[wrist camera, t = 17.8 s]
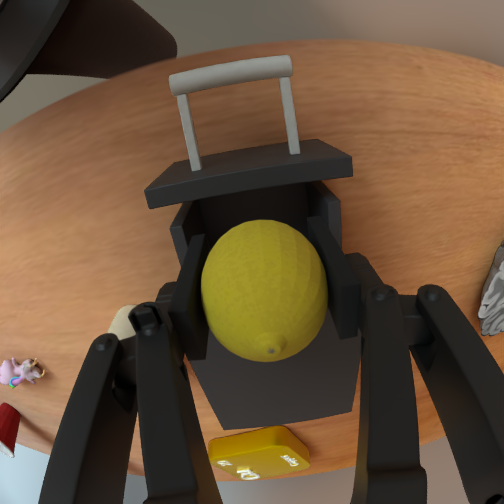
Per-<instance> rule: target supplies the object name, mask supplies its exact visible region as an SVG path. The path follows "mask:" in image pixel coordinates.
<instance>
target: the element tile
mask: <svg viewBox="0 0 504 504" xmlns="http://www.w3.org/2000/svg"><path fill="white" fill-rule="evenodd" d="M208 457H209V461H210V464H212V465H214V466H216V467H218V468H220V469H222V470H223V471H225V472H227V473H229V474H231V475H233V476H235V477H237V478H239V479H242V480H254V479H260V478H266V477H271V476H276V475H281V474H286V473H291V472H295V471H299V470H303V469H307V468H309V466H310V458H309V452H308V448H307V447H306V446H305V445H304V444H303V443H302V442H301V441H300V440H299V439H298V438H297V437H295V436H294V435H293V434H292V433H291V432H290V431H289V430H288V429H287V428H286V427H283V426H270V427H266V428H262V429H258V430H254V431H250V432H246V433H242V434H237V435H232V436H227V437H222V438H217V439H213V440H211V441H210V442H209V443H208Z"/></svg>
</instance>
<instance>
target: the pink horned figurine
mask: <svg viewBox="0 0 504 504" xmlns="http://www.w3.org/2000/svg"><path fill="white" fill-rule="evenodd" d="M35 359H36V358H35ZM35 359H34V362H33V361H32V360H31V359H27V360H25V361H24V362H23V363H22V365H18V364H17V363H16V362H15V358H14V357H13V358H12V361H11V360H5V361H4V362H3V364H2V366H1V367H0V383H1V384H3V385H9V384H10V387H11V388H14V387H16V386H17V385H18V384H20V383H21V382H23V379H27V380H28V381H29V382H31V383H32V384H35V382H34V381H33V380H34V379H36V378H40V377H42V376H44V375H45V374H46V373H47V372H45V371H46V370H47V369H46V370H45V371H44V369H43V374H42V375H40V374H41V372H40V369H39V368H38V367H35V366H34V365H36V363H39V362H37V361H36V360H37V359H36V360H35Z"/></svg>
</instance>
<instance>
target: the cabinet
mask: <svg viewBox="0 0 504 504" xmlns="http://www.w3.org/2000/svg"><path fill="white" fill-rule="evenodd" d="M361 335H362V334H361V332H360V330H359V327H358V335H357V337H353V338H348V339H343V340H340V339H339V336H338V333H337V330H336V328H335V325H334V322H333V319H332V317H331V314H330V311H329V308H328V306H327V310H326V316H325V319H324V322H323V324H322V326H321V328H320V330H319V332H318V334H317V335H316V337H315V338H314V339H313V340H312V341H311V342H310V343H309V344H308V345H307V346H306V347H305V348H304V349H302V350H301V351H299V352H298V353H297V354H294V355H292V356H290V357H288V358H286V359H282V360H278V361H272V362H259V361H252V360H249V359H245V358H242V357H240V356H238V355H236V354H234V353H232V352H231V351H229V350H228V349H227V348H225V347H224V346H223V345H222V344H221V343H220V342H219V341H218V340H217V339H216V337H215V336H214V334H213V333H212V331H211V330H210V328H209V336H208V344H207V353H206V360H195V361H190V363H191V366H192V368H193V370H194V372H195V374H196V376H197V378H198V380H199V383H200V385H201V387H202V389H203V391H204V393H205V395H206V397H207V399H208V401H209V403H210V405H211V407H212V409H213V411H214V413H215V415H216V416H217V418H218V420H219V422H220V424H221V426H222V428H223V430H232V429H245V428H256V427H266V426H274V425H282V424H289V423H295V422H302V421H308V420H313V419H319V418H324V417H329V416H334V415H339V414H343V413H348V412H351V411H352V406H353V401H354V395H355V389H356V383H357V377H358V370H359V364H360V357H361V355H359V352H360V343H361Z"/></svg>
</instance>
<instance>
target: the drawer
mask: <svg viewBox="0 0 504 504" xmlns="http://www.w3.org/2000/svg"><path fill="white" fill-rule="evenodd" d="M292 74H293V68H292V62H291V58H290V56H289V55H281V56H271V57H262V58H254V59H247V60H241V61H234V62H228V63H223V64H217V65H212V66H207V67H203V68H198V69H194V70H189V71H185V72H181V73H177V74H173V75H170V76H169V86H170V90H171V93H172V94H173V96H177V102H178V107H179V112H180V117H181V122H182V126H183V131H184V136H185V141H186V146H187V150H188V155H189V159H188V160H183V161H178V162H174V163H173V164H172V165H171V166H170V167H168V168H167V169H166V170H165V171H164V172H163V173H162V174H161V175H160V176H159V177H158V178H156V179H155V180H154V181H153V182H152V183H151V184H150V185H149V186H148V187H147V188H146V189H145V190H144V193H145V196H146V200H147V203H148V207H149V209H154V208H158V207H163V206H168V205H173V204H178V203H183V204H182V206H181V208H180V210H179V211H178V213H177V215H176V217H175V219H174V221H173V222H172V224H171V226H170V228H169V229H170V232H171V235H172V239H173V242H174V246H175V249H176V252H177V255H178V259H179V262H180V265H181V267H182V264H183V261H184V258H185V255H186V252H187V249H188V246H189V243H190V241H191V238H192V236H194V235H200V234H206V238H207V242H208V246H209V250H210V251H211V250H212V248H213V247H214V245H215V244H216V243H217V241H218V240H219V239H220V238H221V237H222V236H223V235H224V234H225V233H227V232H228V231H229V230H230V229H232V228H234V227H236V226H238V225H240V224H242V223H244V222H249V221H254V220H274V221H277V222H281V223H284V224H287V225H289V226H290V227H292V228H294V229H295V230H297V231H298V232H300V233H301V234H302V235H303V236H304V237H305V238H306V239H307V240H308V241H309V238H308V226H307V217H314V216H321V218H322V219H323V221H324V222H325V224H326V225H327V227H328V229H329V230H330V232H331V233H332V235H333V237H334V238H335V240H336V241H337V243H338V245H339V246H340V248H341V249H342V236H341V209H340V200H339V199H338V198H337V197H336V196H335V195H334V194H333V193H332V192H331V191H330V190H329V189H328V188H327V187H326V186H325V184H324V183H323V182H322V181H321V180H327V179H335V178H344V177H352V176H353V166H352V157H351V156H350V155H348V154H346V153H344V152H342V151H341V150H339V149H337V148H335V147H333V146H331V145H329V144H327V143H325V142H323V141H321V140H319V139H312V140H303V141H299V138H298V130H297V123H296V116H295V109H294V102H293V96H292V89H291V83H290V78H289V77H291V76H292ZM273 78H279V79H278V80H279V86H280V92H281V98H282V104H283V111H284V117H285V124H286V131H287V138H288V142H287V143H279V144H272V145H265V146H258V147H252V148H246V149H240V150H234V151H228V152H223V153H217V154H212V155H207V156H202V157H200V153H199V148H198V143H197V139H196V134H195V129H194V124H193V119H192V114H191V108H190V103H189V98H188V94H187V93H192V92H196V91H201V90H205V89H210V88H215V87H221V86H226V85H232V84H238V83H244V82H250V81H257V80H265V79H273Z"/></svg>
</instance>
